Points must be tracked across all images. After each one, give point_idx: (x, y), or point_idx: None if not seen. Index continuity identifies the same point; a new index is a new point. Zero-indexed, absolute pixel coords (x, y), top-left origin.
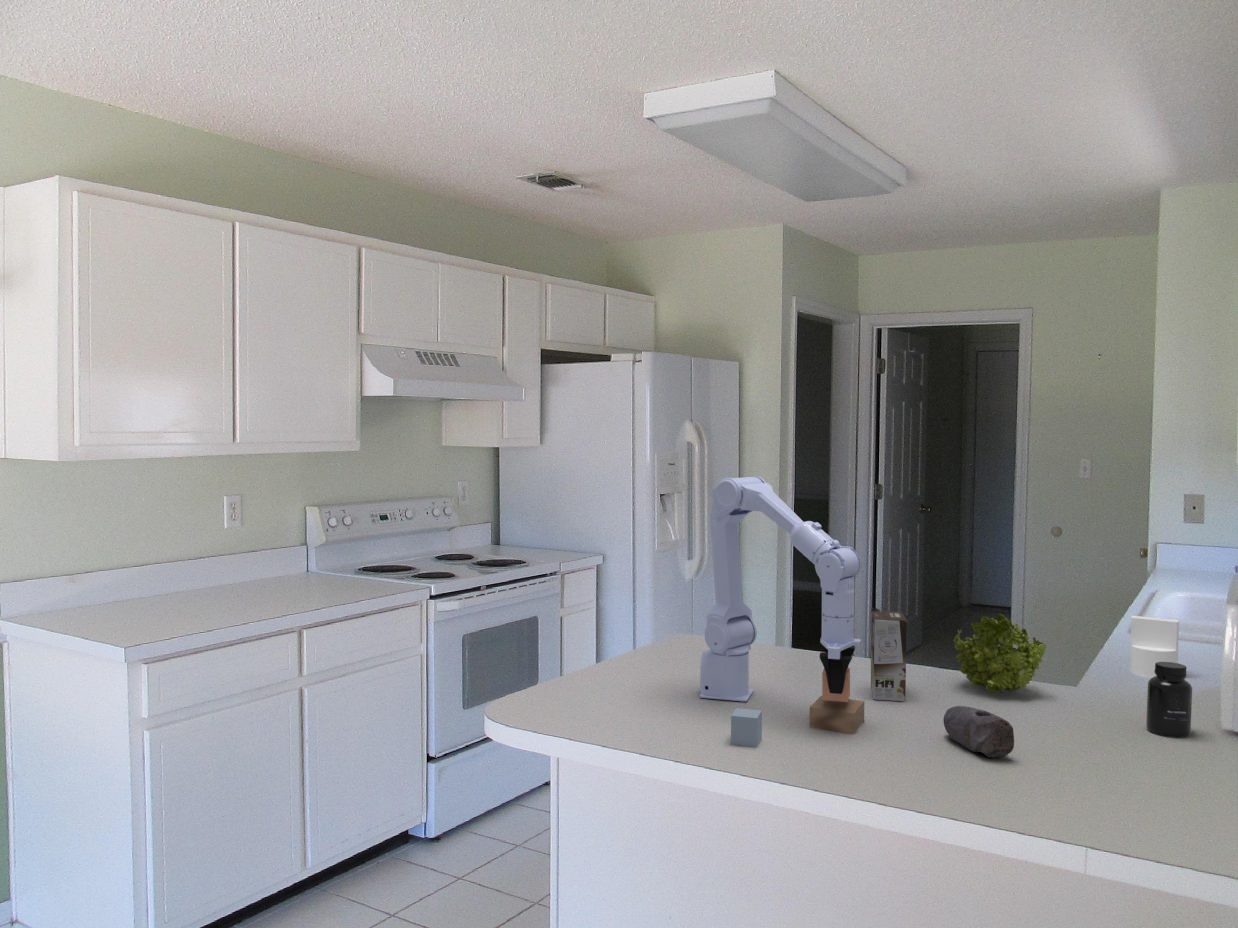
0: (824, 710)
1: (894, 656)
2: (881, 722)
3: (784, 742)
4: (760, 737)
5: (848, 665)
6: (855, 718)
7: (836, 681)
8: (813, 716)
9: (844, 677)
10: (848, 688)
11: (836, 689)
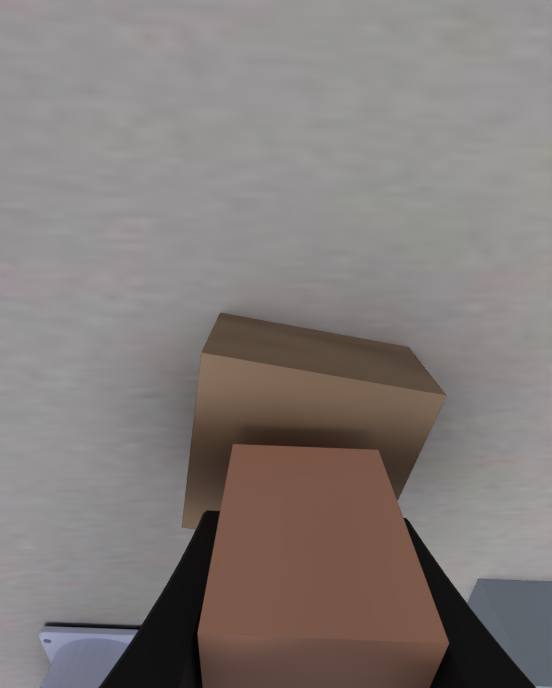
0: None
1: None
2: (217, 234)
3: (515, 533)
4: (505, 589)
5: (149, 658)
6: (407, 372)
7: None
8: None
9: (496, 641)
10: (353, 505)
11: None
